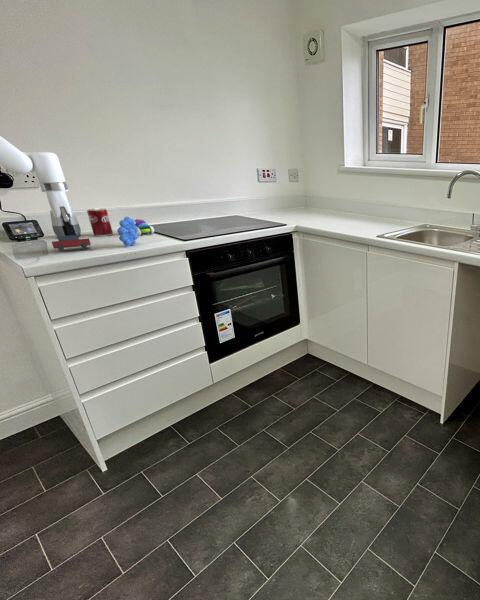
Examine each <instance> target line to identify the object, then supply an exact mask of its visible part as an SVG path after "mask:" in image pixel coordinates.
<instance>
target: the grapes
mask: <svg viewBox="0 0 480 600" xmlns="http://www.w3.org/2000/svg"><path fill="white" fill-rule="evenodd" d="M135 220H136V219H133V218H131V217H129V216H125V217H124V218H123V219H121V220H120V221H119V223H118V224H119V227H118V229H117V231H116V232H117V233H118V235H119V237H118V239H119V241H121V242H122V244H123V245H124V246H125V247H129V246H134V245H135V244H136V242H137V241H136V240H138V238H139V236H138V235H137V234H136V233H135V232H137V231H138V227H137V226H135V224H136V222H135Z"/></svg>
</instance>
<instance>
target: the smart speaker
mask: <svg viewBox="0 0 480 600" xmlns="http://www.w3.org/2000/svg"><path fill="white" fill-rule="evenodd" d="M69 206H70V210H71V214H72V217H71V218H70V220H71V223H72V225H73V227H74V230H75V233H76V235H78V237H79V236H80V235H81V233H82V232H81V226H80V224H79V221H78V219H77V216H76V215H75V212H74V210H73V208H72V205H71V204H69ZM49 214H50V221H51V226H52V230H53V233H54V234H55V236H56V237H57V236H65V234H64V231H63V228H62V226H63V225H62V223H61V221H60V218H58V219H56V218H55V217H54V216H53V213H52V210H51V209H50V211H49Z"/></svg>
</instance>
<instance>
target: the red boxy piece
mask: <svg viewBox="0 0 480 600" xmlns="http://www.w3.org/2000/svg"><path fill="white" fill-rule="evenodd" d="M56 238H57V240H56V241H51V245H52V248H53V249H54V250H56V249H58V250H59V251H63V250H64V249H66V248H77V247H81V248H83V249H86V248H87V247H88V246H91V245H92V243H91V240H90V238H80V237H79V236H78V235H69V236H56Z"/></svg>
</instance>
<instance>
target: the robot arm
mask: <svg viewBox="0 0 480 600" xmlns="http://www.w3.org/2000/svg"><path fill="white" fill-rule="evenodd" d="M0 166H1V167H2V168H4V169H5V170H6V171H8V172H11V173H12V174H16V175H26V174H28V173H35V176H36V178H37V182H38V184H39V187H40V190H41V192H42V193H45V194H46V198H47V201H48V203H49V206H50V211H51V210H52V213H53V216H54V217H55V218H56V219H58V218H60V221H61V223H62V225H63V226H62V228H63V231H64V234H65V236H69V235H76V233H75V230H74V227H73V225H72V223H71V220H70V218H71V217H72V214H71V210H70V206H69V205H70V203H69V199H68V196H67V193H66V192H69V191H70V190H69V187H68V184H67V181H66V178H65V175H64V172H63V168H62V166H61V163H60V160H59V156H58V155H57V154H56V153H54V152H52V151H51V152H50V151H31V152H27V151H26V152H25V151H21V150H19V149H18V148H17V147H16V146H15V145H13V144H12V143H11V142H9V141H8V140H6V139H5V138H4V137H3V136H1V135H0Z"/></svg>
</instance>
